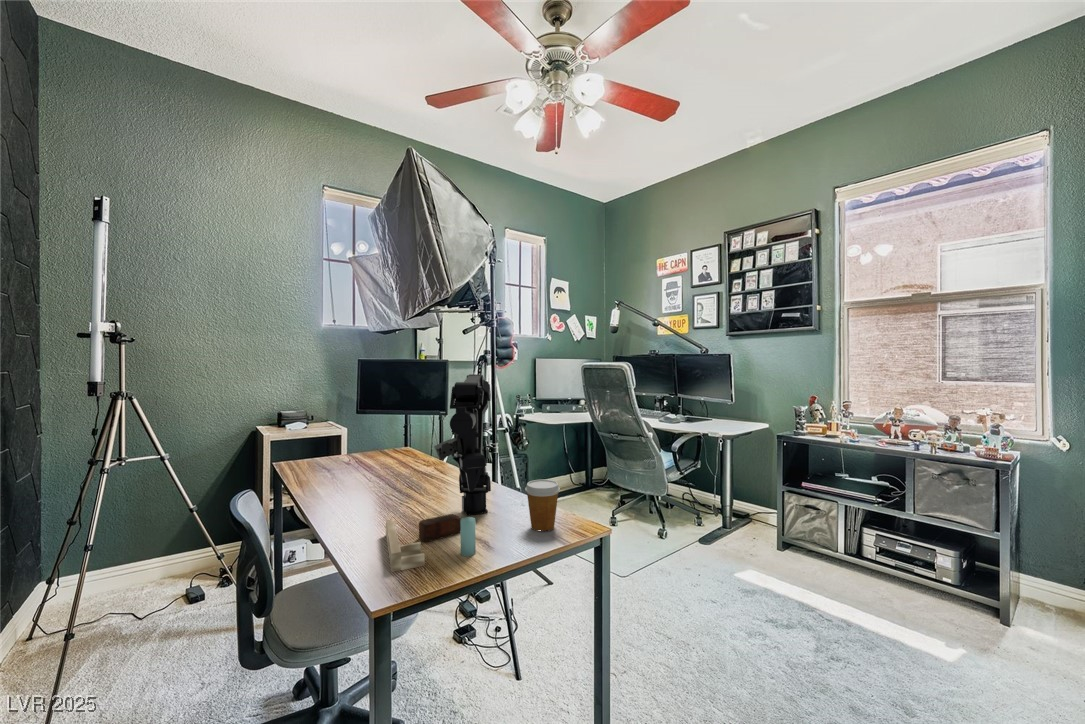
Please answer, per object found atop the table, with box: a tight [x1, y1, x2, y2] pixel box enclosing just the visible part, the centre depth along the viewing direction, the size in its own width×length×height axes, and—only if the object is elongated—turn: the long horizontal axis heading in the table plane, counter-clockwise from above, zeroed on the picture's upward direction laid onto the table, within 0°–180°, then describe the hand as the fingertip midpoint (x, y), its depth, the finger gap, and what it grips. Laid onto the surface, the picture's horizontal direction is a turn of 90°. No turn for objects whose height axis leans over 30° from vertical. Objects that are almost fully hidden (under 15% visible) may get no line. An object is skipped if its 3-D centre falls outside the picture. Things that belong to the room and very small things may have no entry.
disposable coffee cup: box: [524, 479, 561, 532], centre depth 120 cm, size 10×10×12 cm
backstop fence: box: [385, 518, 426, 573], centre depth 107 cm, size 7×22×4 cm, turn 23°
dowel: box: [460, 516, 477, 557], centre depth 104 cm, size 4×4×8 cm
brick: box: [418, 513, 462, 543], centre depth 115 cm, size 11×4×5 cm, turn 128°
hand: (467, 486), depth 117 cm, fingers open, 9 cm apart
